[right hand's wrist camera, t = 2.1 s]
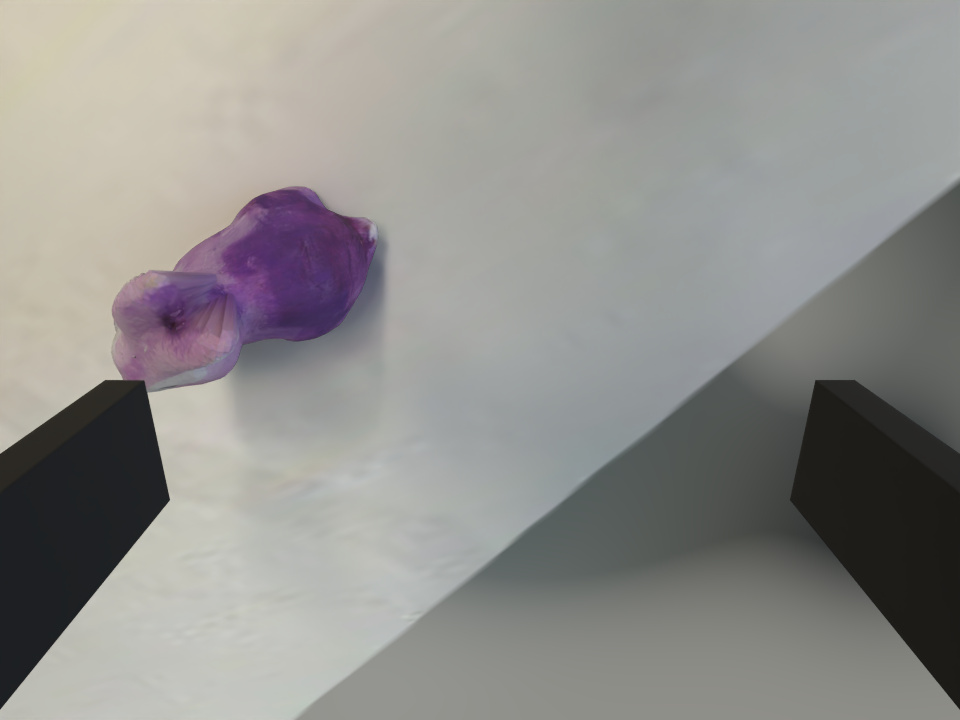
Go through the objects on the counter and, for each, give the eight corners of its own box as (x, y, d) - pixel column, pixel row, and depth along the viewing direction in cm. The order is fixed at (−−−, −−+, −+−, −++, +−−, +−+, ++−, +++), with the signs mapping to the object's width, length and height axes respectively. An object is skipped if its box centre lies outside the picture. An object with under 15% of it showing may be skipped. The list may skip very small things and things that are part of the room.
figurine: (192, 316, 38) (27, 429, 24) (231, 154, 35) (66, 178, 21) (338, 369, 40) (261, 505, 26) (390, 218, 36) (335, 280, 22)
